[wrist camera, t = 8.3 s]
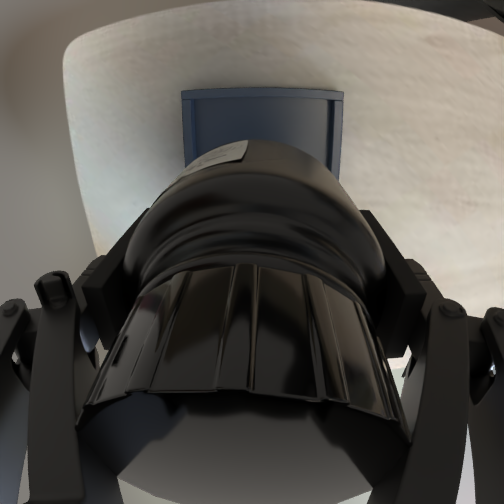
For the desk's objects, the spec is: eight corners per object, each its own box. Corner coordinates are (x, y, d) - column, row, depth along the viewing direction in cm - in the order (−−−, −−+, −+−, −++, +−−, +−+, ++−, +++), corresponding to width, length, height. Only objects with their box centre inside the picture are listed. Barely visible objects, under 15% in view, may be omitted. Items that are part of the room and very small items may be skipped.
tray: (186, 90, 26) (180, 90, 24) (338, 91, 25) (343, 91, 23) (205, 324, 38) (202, 335, 37) (316, 326, 38) (318, 337, 36)
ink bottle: (194, 105, 13) (-28, 188, 2) (378, 166, 14) (558, 350, 3) (156, 280, 17) (71, 479, 7) (304, 321, 18) (323, 526, 8)
